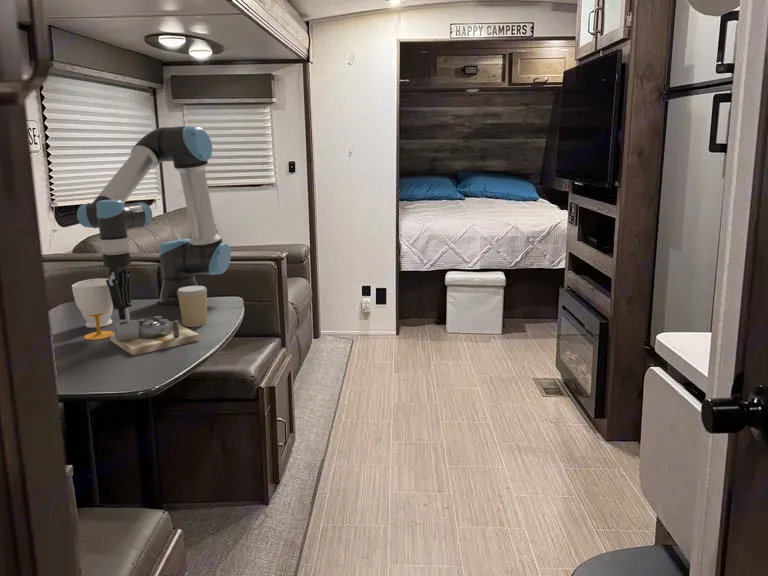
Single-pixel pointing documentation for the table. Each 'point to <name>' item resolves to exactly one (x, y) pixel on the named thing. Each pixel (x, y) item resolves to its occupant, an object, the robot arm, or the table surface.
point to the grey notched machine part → (142, 329)
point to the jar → (103, 318)
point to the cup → (93, 303)
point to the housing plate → (158, 340)
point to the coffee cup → (193, 305)
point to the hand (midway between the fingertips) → (125, 328)
